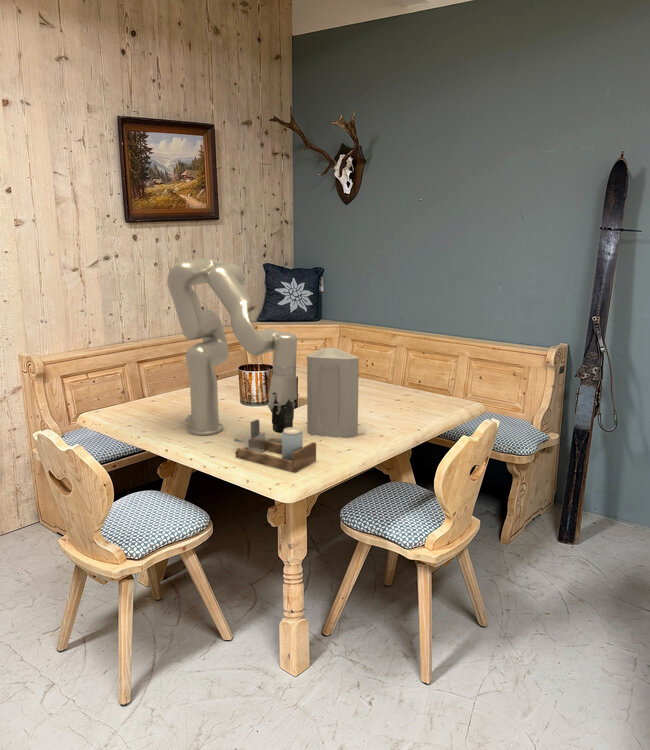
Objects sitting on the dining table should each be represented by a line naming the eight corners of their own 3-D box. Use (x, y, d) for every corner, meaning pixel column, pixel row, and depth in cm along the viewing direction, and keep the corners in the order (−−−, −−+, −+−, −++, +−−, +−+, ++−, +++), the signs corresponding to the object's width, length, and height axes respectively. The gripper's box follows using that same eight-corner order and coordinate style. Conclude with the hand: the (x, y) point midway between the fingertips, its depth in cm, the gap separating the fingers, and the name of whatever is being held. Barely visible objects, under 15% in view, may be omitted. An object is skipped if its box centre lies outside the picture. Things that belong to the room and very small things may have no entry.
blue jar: (277, 464, 206) (277, 430, 203) (290, 458, 211) (289, 425, 208) (294, 468, 202) (294, 434, 200) (306, 462, 208) (306, 428, 205)
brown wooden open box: (235, 457, 212) (235, 439, 210) (258, 446, 221) (257, 429, 219) (295, 472, 199) (294, 453, 198) (316, 460, 209) (316, 442, 207)
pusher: (226, 452, 215) (225, 419, 213) (243, 444, 222) (242, 413, 220) (248, 457, 211) (248, 424, 208) (265, 450, 217) (264, 417, 215)
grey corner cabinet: (297, 426, 242) (297, 351, 235) (334, 420, 248) (334, 347, 241) (319, 442, 225) (320, 362, 218) (358, 436, 231) (359, 357, 225)
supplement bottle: (292, 427, 228) (294, 393, 224) (292, 434, 221) (293, 399, 218) (272, 426, 227) (273, 393, 224) (271, 433, 221) (272, 399, 218)
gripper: (290, 363, 228) (288, 412, 232) (259, 373, 214) (257, 425, 218) (308, 367, 224) (306, 417, 229) (277, 377, 210) (276, 430, 214)
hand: (282, 421), depth 223 cm, fingers closed on supplement bottle, 6 cm apart
